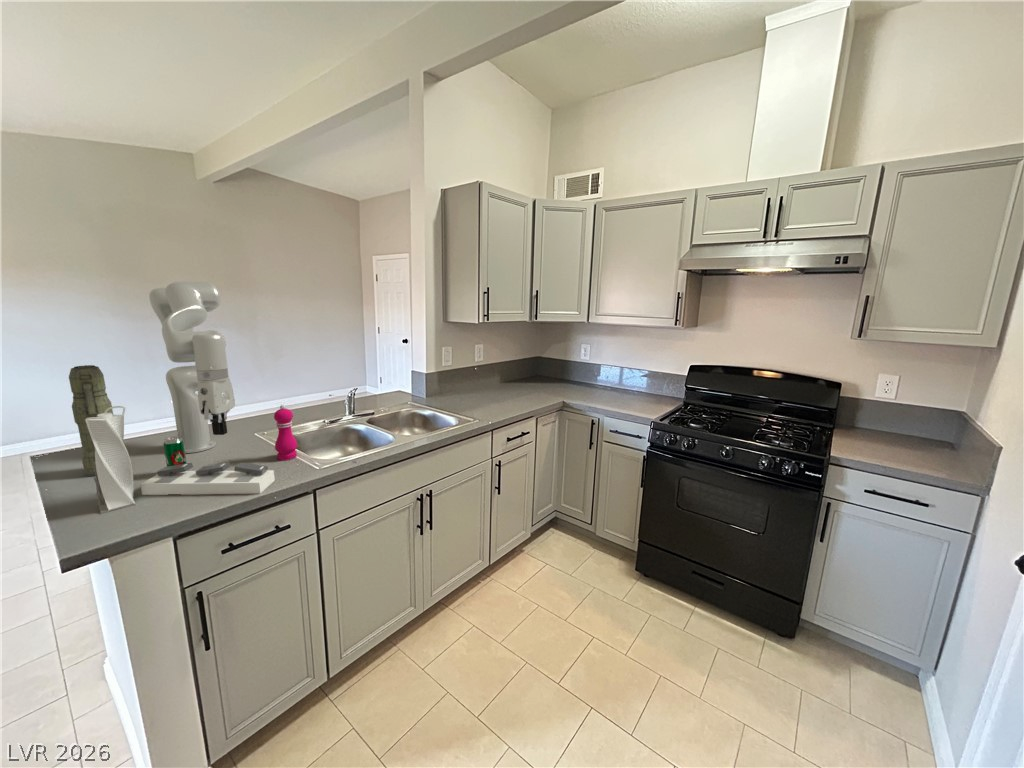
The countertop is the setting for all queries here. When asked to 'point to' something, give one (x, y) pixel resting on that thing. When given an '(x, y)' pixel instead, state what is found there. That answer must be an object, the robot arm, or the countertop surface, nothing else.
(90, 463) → the olive piece
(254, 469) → the block
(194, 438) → the robot arm
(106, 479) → the skyscraper
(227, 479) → the power strip
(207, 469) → the middle rocker
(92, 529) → the countertop surface
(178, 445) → the soda can
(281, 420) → the pepper mill
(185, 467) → the rocker
